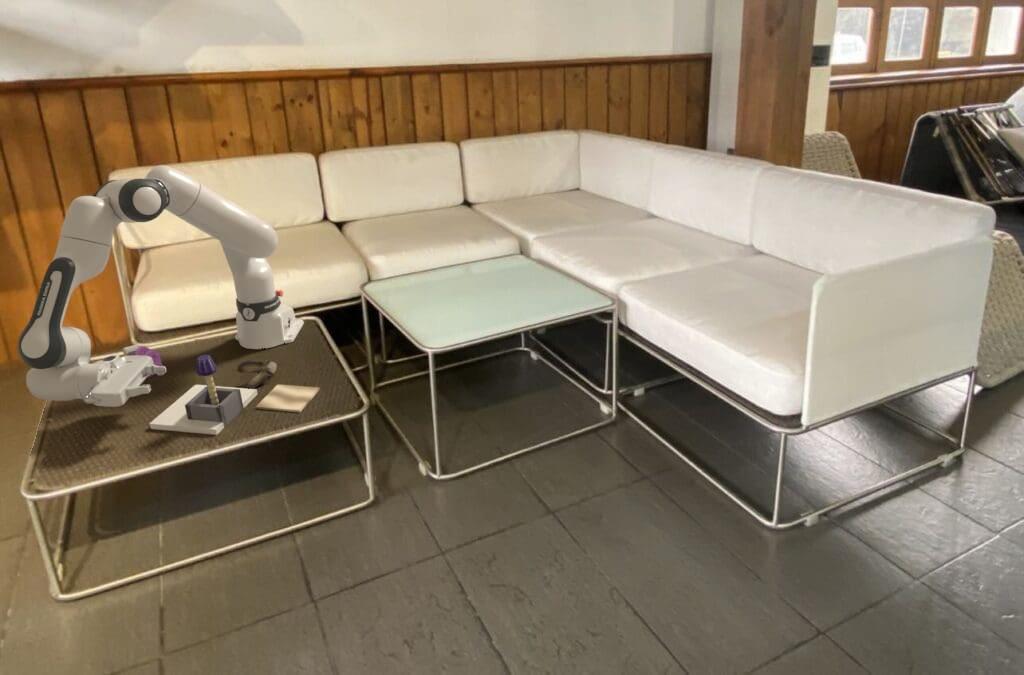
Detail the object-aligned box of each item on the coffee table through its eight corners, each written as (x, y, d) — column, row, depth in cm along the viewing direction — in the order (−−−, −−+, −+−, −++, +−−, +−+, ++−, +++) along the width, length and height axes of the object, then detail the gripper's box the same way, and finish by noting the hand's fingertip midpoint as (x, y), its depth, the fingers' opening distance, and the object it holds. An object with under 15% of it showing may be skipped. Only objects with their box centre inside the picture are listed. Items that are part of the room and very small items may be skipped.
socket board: (196, 389, 200) (192, 371, 198) (257, 394, 197) (254, 375, 195) (150, 428, 182) (145, 409, 180) (216, 434, 179) (212, 415, 177)
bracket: (151, 366, 214) (146, 344, 211) (163, 370, 211) (158, 348, 208) (108, 384, 204) (102, 362, 201) (120, 390, 201) (114, 367, 198)
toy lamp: (220, 422, 185) (207, 361, 178) (203, 420, 185) (189, 360, 178) (230, 412, 189) (218, 353, 182) (213, 410, 190) (201, 351, 183)
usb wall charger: (129, 365, 214) (126, 353, 212) (123, 357, 219) (119, 345, 217) (144, 361, 216) (141, 349, 215) (137, 353, 221) (134, 341, 219)
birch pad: (277, 386, 201) (277, 384, 201) (319, 389, 199) (319, 387, 198) (256, 408, 190) (255, 406, 190) (300, 412, 188) (299, 410, 188)
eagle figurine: (260, 366, 209) (232, 373, 202) (269, 349, 206) (241, 356, 198) (275, 386, 207) (247, 394, 200) (284, 369, 203) (256, 377, 196)
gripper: (75, 390, 171) (136, 388, 171) (115, 351, 189) (170, 349, 190) (82, 414, 174) (143, 412, 174) (121, 373, 192) (175, 372, 193)
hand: (157, 379), depth 182 cm, fingers open, 8 cm apart
